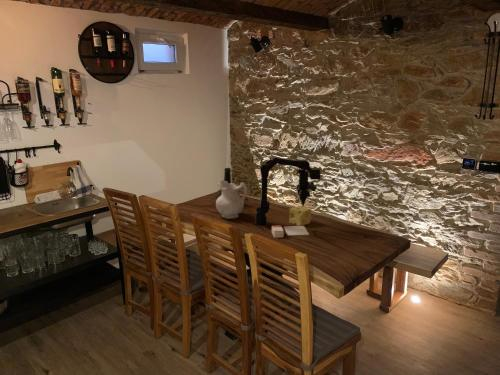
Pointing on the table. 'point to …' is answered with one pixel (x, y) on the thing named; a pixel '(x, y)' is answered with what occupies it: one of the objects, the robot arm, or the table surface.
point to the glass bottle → (226, 178)
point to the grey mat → (295, 230)
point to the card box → (277, 231)
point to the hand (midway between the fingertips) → (302, 202)
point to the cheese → (300, 215)
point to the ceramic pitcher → (230, 199)
